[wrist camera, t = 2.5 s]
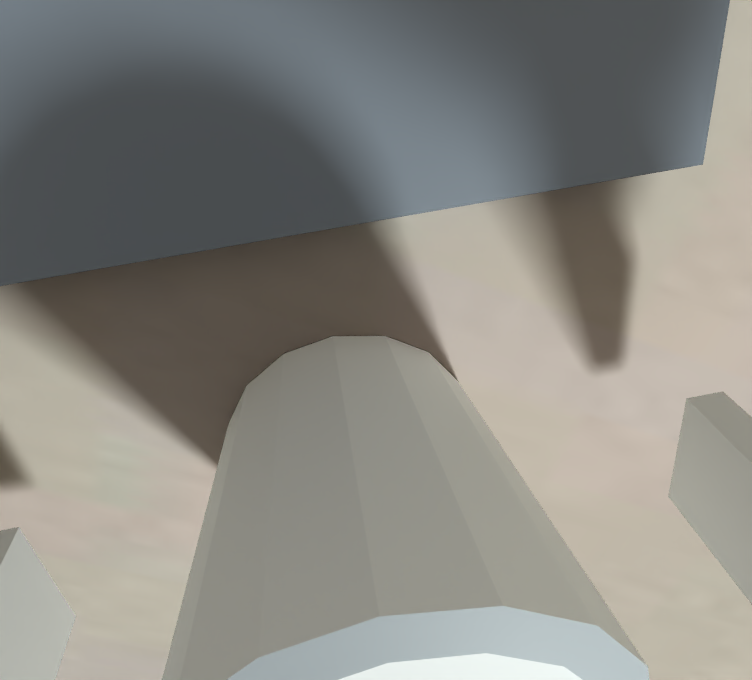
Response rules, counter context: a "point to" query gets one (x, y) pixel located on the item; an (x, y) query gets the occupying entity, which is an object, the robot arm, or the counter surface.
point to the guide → (325, 114)
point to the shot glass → (381, 539)
